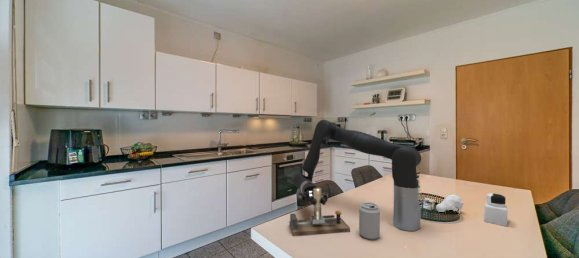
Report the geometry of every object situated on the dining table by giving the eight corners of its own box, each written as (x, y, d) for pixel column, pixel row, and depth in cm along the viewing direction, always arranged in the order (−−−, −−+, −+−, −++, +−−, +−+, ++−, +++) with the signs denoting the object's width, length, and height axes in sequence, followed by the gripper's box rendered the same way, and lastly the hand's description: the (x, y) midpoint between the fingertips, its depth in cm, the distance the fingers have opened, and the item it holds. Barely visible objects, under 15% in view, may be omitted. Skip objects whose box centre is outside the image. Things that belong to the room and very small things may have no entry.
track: (340, 220, 98) (340, 207, 98) (350, 231, 88) (350, 216, 88) (289, 224, 95) (289, 210, 94) (293, 236, 85) (293, 220, 85)
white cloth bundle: (464, 196, 105) (441, 199, 103) (465, 213, 105) (443, 217, 103) (452, 192, 111) (431, 195, 109) (454, 208, 111) (432, 212, 110)
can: (377, 242, 80) (377, 209, 80) (356, 237, 84) (356, 205, 84) (381, 234, 86) (381, 203, 86) (361, 229, 90) (361, 200, 90)
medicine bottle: (506, 221, 97) (507, 194, 97) (507, 226, 92) (507, 198, 92) (484, 216, 102) (485, 191, 102) (484, 221, 97) (484, 194, 97)
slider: (333, 217, 95) (333, 186, 94) (337, 222, 90) (337, 189, 90) (310, 219, 93) (310, 187, 93) (312, 224, 89) (312, 190, 88)
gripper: (294, 183, 104) (302, 194, 87) (323, 181, 106) (336, 192, 89) (294, 198, 104) (302, 213, 87) (323, 197, 106) (336, 211, 89)
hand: (319, 202), depth 88 cm, fingers closed on slider, 3 cm apart
